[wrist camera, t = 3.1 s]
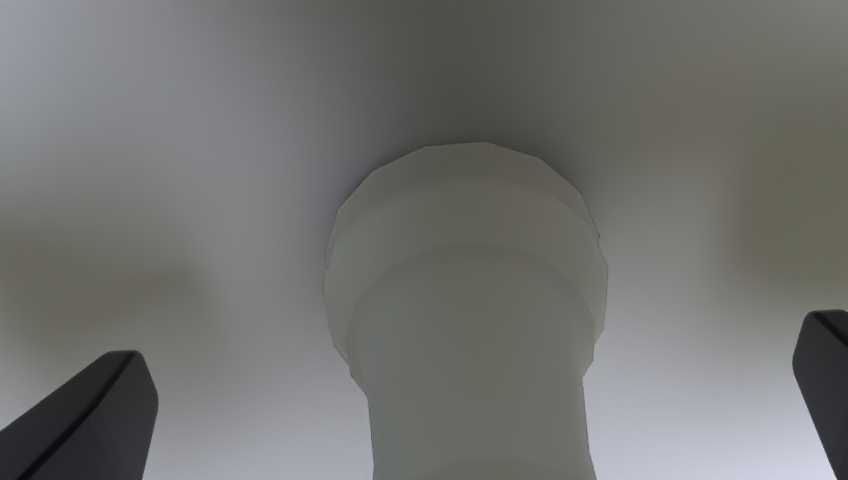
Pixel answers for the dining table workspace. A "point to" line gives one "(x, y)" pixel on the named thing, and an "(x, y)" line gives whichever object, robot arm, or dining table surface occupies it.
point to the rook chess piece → (469, 314)
